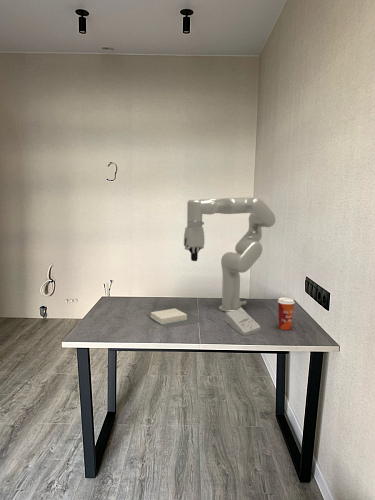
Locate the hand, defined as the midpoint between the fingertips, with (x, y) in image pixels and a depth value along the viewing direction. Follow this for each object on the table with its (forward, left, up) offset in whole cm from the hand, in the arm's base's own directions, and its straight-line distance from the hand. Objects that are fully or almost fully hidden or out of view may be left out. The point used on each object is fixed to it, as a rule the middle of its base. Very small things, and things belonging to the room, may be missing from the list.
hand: (194, 260), depth 191 cm
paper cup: (-28, +37, -29) cm, 55 cm away
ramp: (-13, +24, -30) cm, 40 cm away
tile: (+8, 0, -27) cm, 28 cm away
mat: (+11, 0, -29) cm, 31 cm away
